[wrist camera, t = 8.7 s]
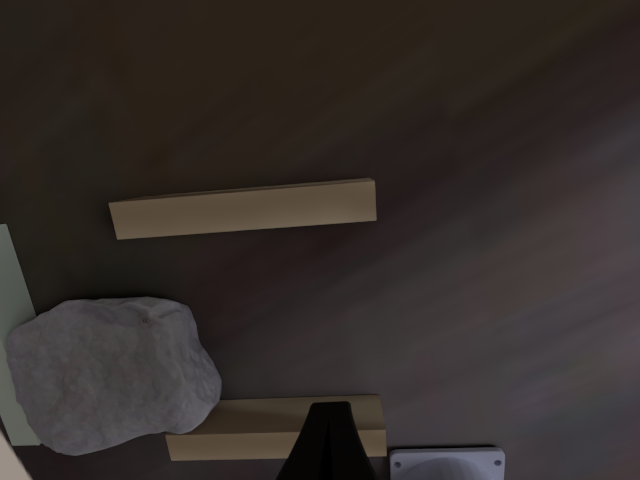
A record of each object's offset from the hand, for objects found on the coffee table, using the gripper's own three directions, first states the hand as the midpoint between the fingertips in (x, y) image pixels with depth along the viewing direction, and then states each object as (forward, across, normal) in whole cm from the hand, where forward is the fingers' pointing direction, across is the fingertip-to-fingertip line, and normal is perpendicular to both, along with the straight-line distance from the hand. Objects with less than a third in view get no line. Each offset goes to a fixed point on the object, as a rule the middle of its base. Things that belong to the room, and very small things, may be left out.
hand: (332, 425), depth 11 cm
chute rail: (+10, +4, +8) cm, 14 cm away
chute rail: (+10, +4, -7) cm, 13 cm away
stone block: (+10, +15, +2) cm, 18 cm away
